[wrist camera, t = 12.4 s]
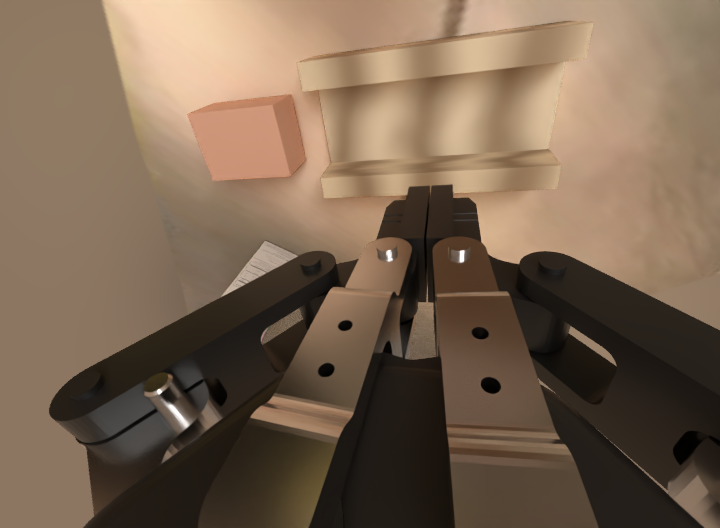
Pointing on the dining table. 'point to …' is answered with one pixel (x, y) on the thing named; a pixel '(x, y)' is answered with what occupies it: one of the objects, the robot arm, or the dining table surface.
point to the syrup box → (261, 266)
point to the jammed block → (249, 138)
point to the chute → (445, 111)
